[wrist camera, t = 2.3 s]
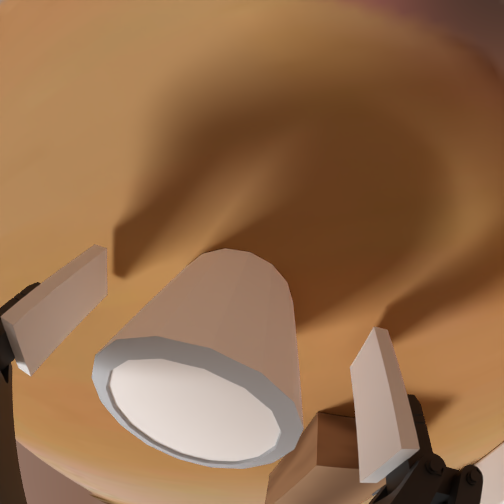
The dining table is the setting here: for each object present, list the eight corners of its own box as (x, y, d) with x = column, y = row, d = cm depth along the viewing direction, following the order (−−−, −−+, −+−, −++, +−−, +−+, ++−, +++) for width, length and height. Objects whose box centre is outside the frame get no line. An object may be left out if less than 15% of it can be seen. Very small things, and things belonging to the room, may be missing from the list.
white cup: (264, 208, 12) (223, 303, 6) (328, 333, 14) (333, 458, 8) (141, 269, 14) (56, 360, 8) (212, 368, 16) (174, 472, 10)
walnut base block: (269, 474, 21) (263, 511, 18) (317, 412, 17) (316, 465, 13) (336, 482, 21) (335, 517, 17) (402, 422, 16) (410, 469, 13)
